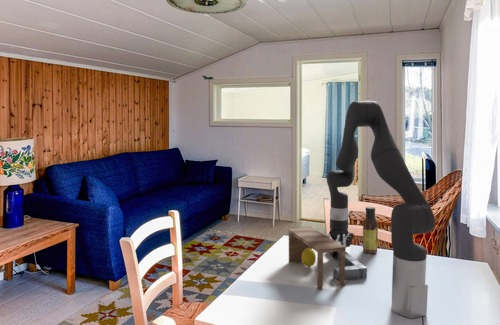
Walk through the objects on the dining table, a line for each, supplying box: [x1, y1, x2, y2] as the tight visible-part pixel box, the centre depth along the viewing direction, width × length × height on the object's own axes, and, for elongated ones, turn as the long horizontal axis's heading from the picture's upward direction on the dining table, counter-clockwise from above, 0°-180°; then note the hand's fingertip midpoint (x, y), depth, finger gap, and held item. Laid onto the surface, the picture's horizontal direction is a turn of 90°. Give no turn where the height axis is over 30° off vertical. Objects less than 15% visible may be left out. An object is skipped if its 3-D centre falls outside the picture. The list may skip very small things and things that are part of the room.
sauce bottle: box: [362, 206, 379, 254], centre depth 164 cm, size 7×6×20 cm
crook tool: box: [327, 250, 368, 282], centre depth 150 cm, size 12×29×4 cm, turn 11°
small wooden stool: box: [288, 226, 346, 291], centre depth 141 cm, size 26×10×14 cm, turn 18°
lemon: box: [301, 248, 317, 268], centre depth 148 cm, size 6×6×8 cm
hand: (338, 257), depth 158 cm, fingers closed on crook tool, 3 cm apart
